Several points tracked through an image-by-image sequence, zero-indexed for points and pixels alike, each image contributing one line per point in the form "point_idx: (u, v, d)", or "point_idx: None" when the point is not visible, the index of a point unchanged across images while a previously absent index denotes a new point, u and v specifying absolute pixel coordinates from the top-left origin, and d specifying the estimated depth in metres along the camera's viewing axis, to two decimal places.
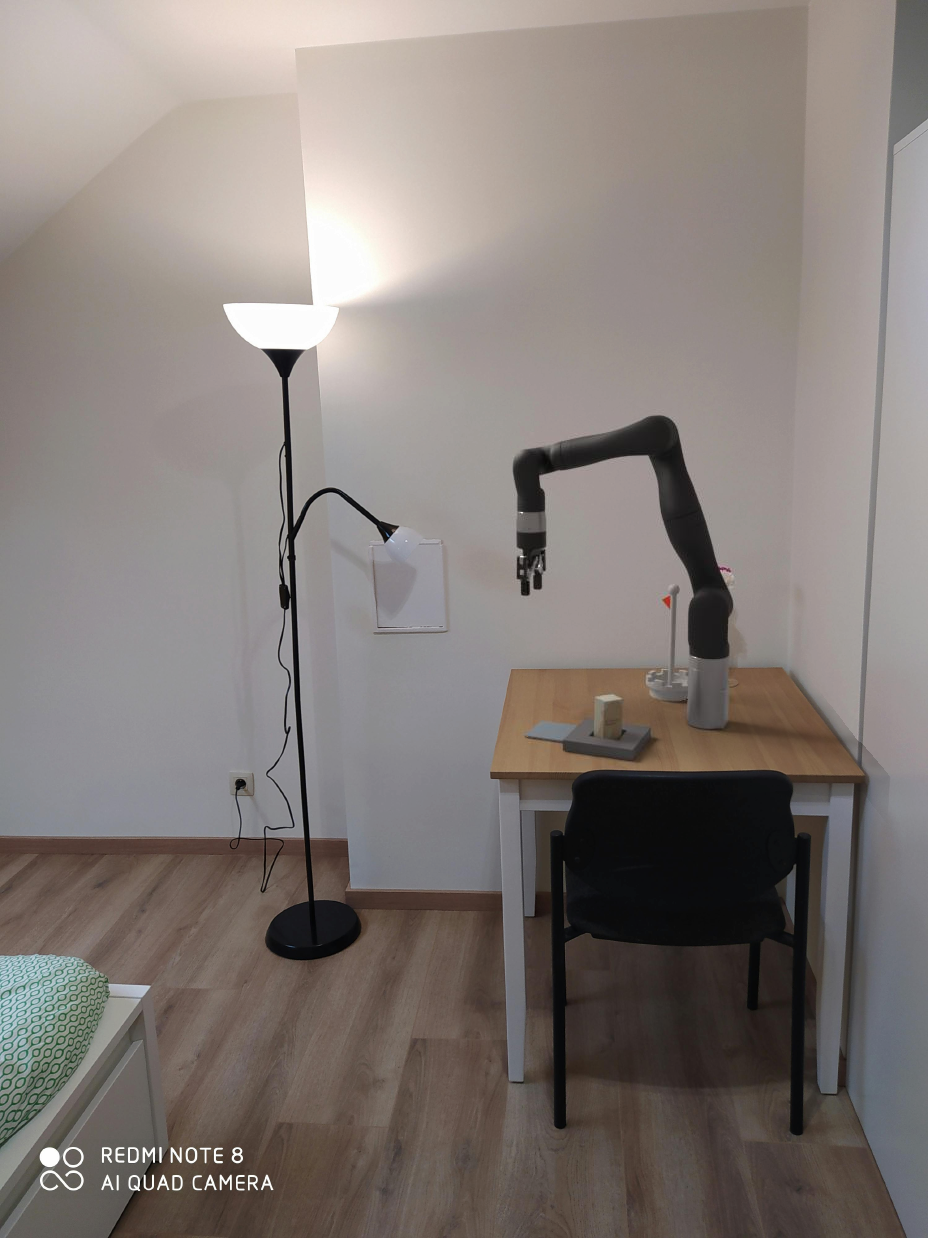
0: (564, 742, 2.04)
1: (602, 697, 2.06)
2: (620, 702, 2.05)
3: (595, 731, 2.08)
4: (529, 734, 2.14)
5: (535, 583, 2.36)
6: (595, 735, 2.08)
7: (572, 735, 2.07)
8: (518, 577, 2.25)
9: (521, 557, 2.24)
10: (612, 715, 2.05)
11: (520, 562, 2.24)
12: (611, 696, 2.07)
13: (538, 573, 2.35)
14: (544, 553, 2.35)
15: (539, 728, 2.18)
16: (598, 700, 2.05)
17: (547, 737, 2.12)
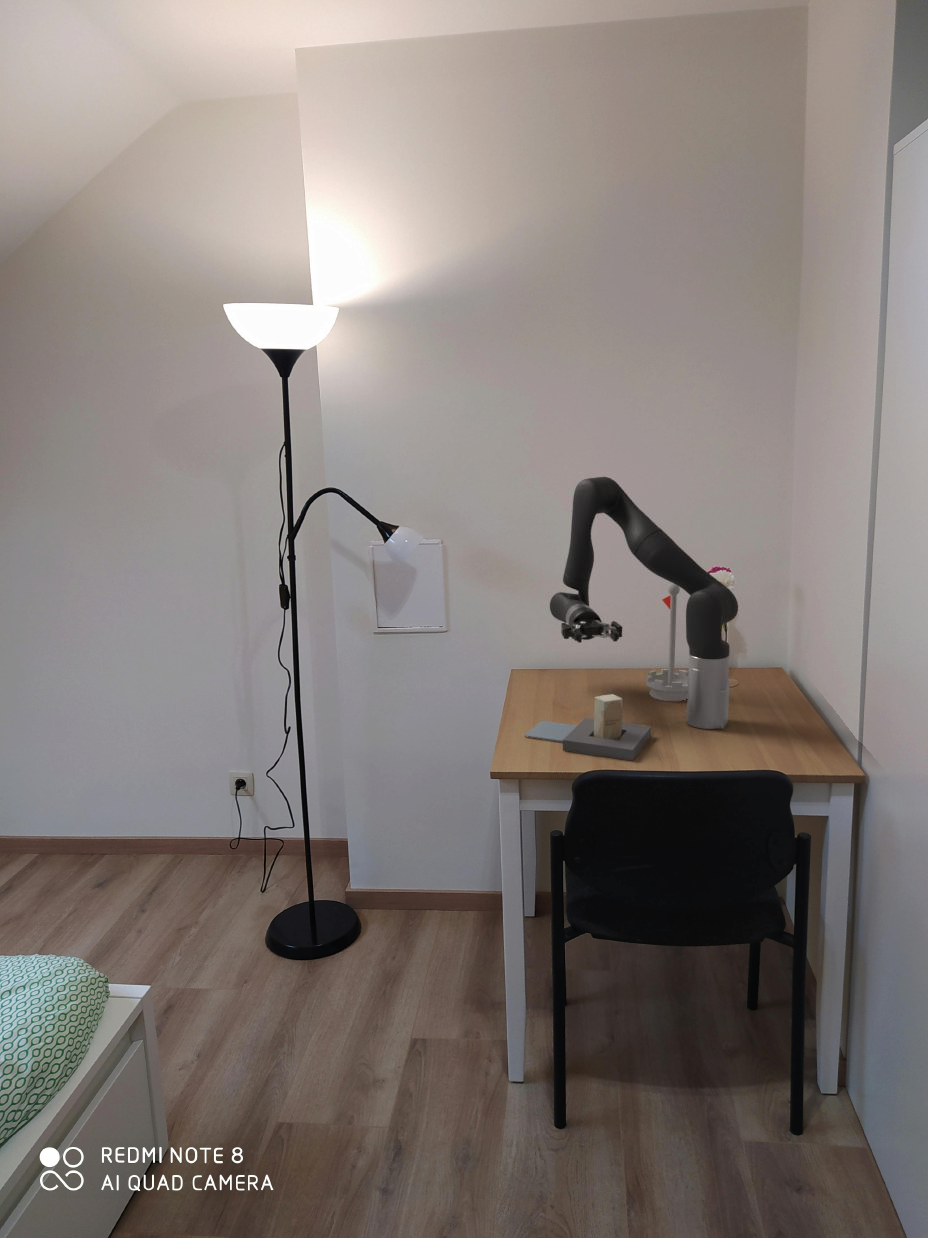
0: (564, 742, 2.04)
1: (602, 697, 2.06)
2: (620, 702, 2.05)
3: (595, 731, 2.08)
4: (529, 734, 2.14)
5: (612, 637, 2.16)
6: (595, 735, 2.08)
7: (572, 735, 2.07)
8: (564, 636, 2.19)
9: None
10: (612, 715, 2.05)
11: (562, 630, 2.22)
12: (611, 696, 2.07)
13: None
14: (614, 622, 2.23)
15: (539, 728, 2.18)
16: (598, 700, 2.05)
17: (547, 737, 2.12)
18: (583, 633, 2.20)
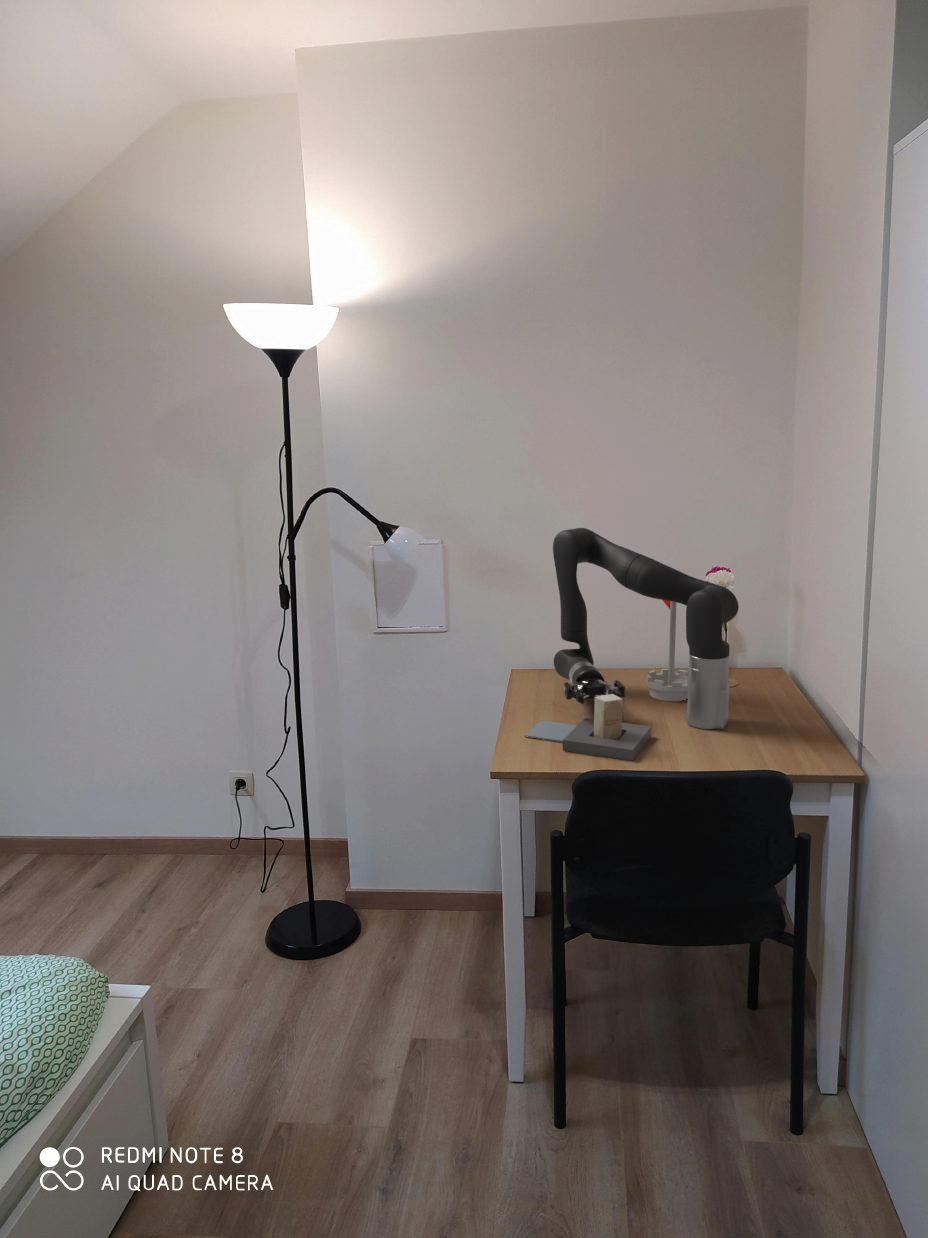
0: (564, 742, 2.04)
1: (602, 697, 2.06)
2: (620, 702, 2.05)
3: (595, 731, 2.08)
4: (529, 734, 2.14)
5: None
6: (595, 735, 2.08)
7: (572, 735, 2.07)
8: (566, 696, 2.19)
9: None
10: (612, 715, 2.05)
11: (564, 690, 2.22)
12: (611, 696, 2.07)
13: None
14: (617, 682, 2.23)
15: (539, 728, 2.18)
16: (598, 700, 2.05)
17: (547, 737, 2.12)
18: (586, 693, 2.21)
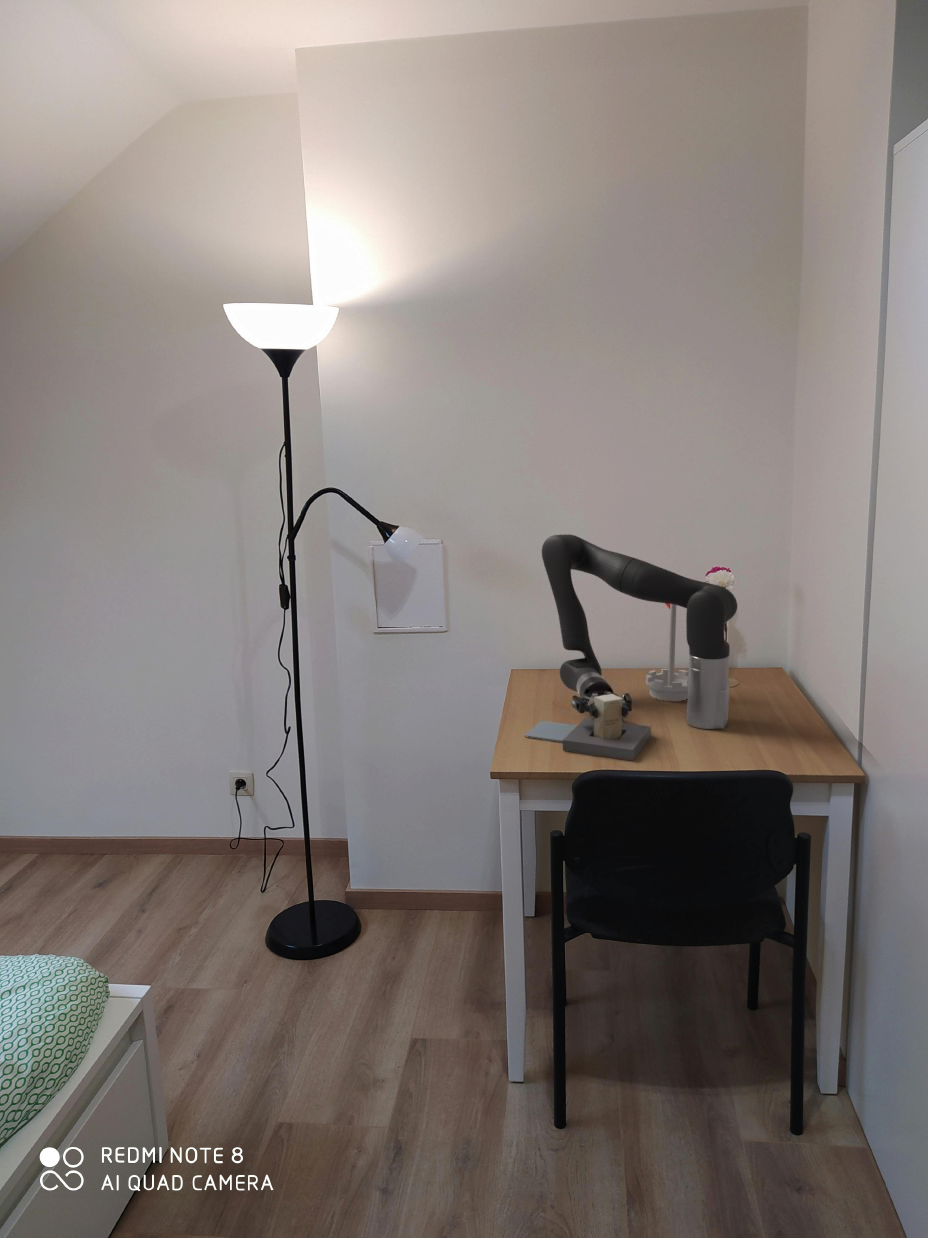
0: (564, 742, 2.04)
1: (602, 697, 2.06)
2: (620, 701, 2.05)
3: (595, 731, 2.08)
4: (529, 734, 2.14)
5: None
6: (595, 735, 2.08)
7: (572, 735, 2.07)
8: (579, 710, 2.09)
9: (572, 701, 2.13)
10: (611, 715, 2.05)
11: (574, 703, 2.12)
12: (610, 696, 2.07)
13: None
14: (626, 695, 2.13)
15: (539, 728, 2.18)
16: (598, 700, 2.05)
17: (547, 737, 2.12)
18: None
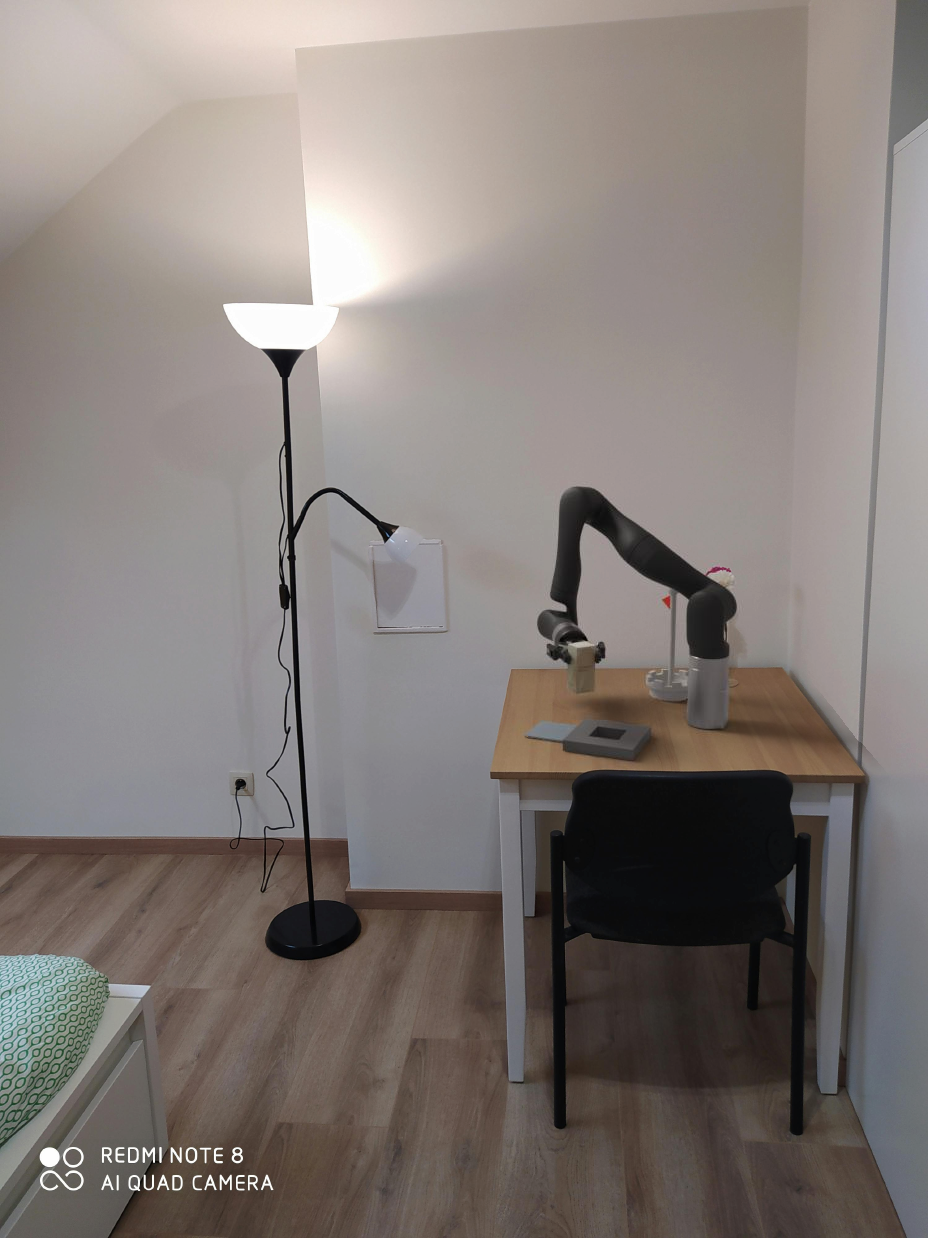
0: (564, 742, 2.04)
1: (575, 644, 2.07)
2: (593, 648, 2.06)
3: (568, 678, 2.09)
4: (529, 734, 2.14)
5: None
6: (569, 682, 2.09)
7: (572, 735, 2.07)
8: (553, 657, 2.10)
9: None
10: (585, 661, 2.06)
11: (548, 651, 2.13)
12: (584, 643, 2.08)
13: None
14: (601, 643, 2.14)
15: (539, 728, 2.18)
16: (571, 647, 2.06)
17: (547, 737, 2.12)
18: None
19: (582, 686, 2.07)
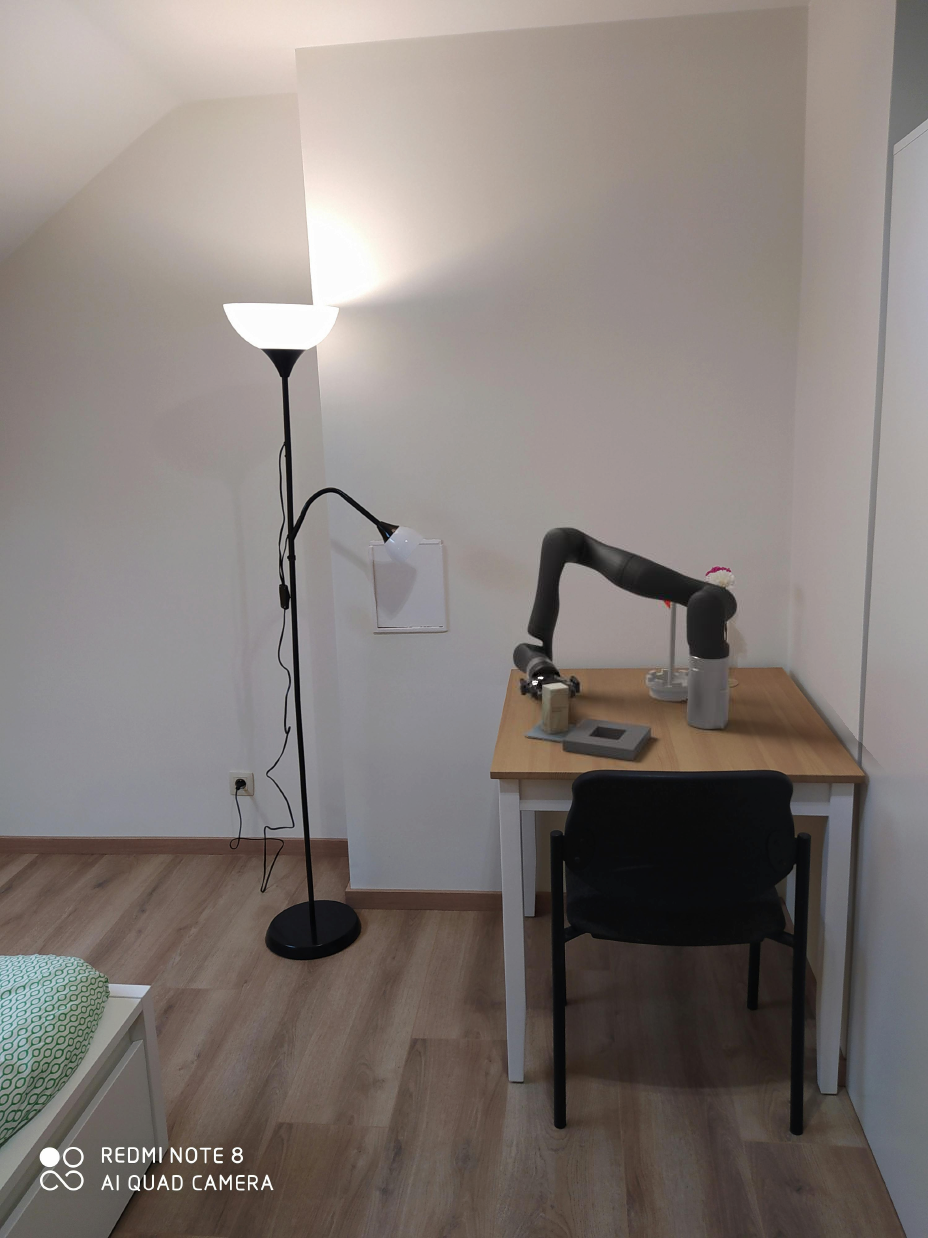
0: (564, 742, 2.04)
1: (549, 685, 2.14)
2: (566, 690, 2.13)
3: (543, 718, 2.16)
4: (529, 734, 2.14)
5: (569, 694, 2.14)
6: (543, 722, 2.16)
7: (572, 735, 2.07)
8: (521, 692, 2.16)
9: None
10: (558, 702, 2.12)
11: None
12: (558, 684, 2.14)
13: None
14: (572, 677, 2.21)
15: (539, 728, 2.18)
16: (545, 688, 2.13)
17: (547, 737, 2.12)
18: (541, 689, 2.18)
19: (555, 727, 2.13)
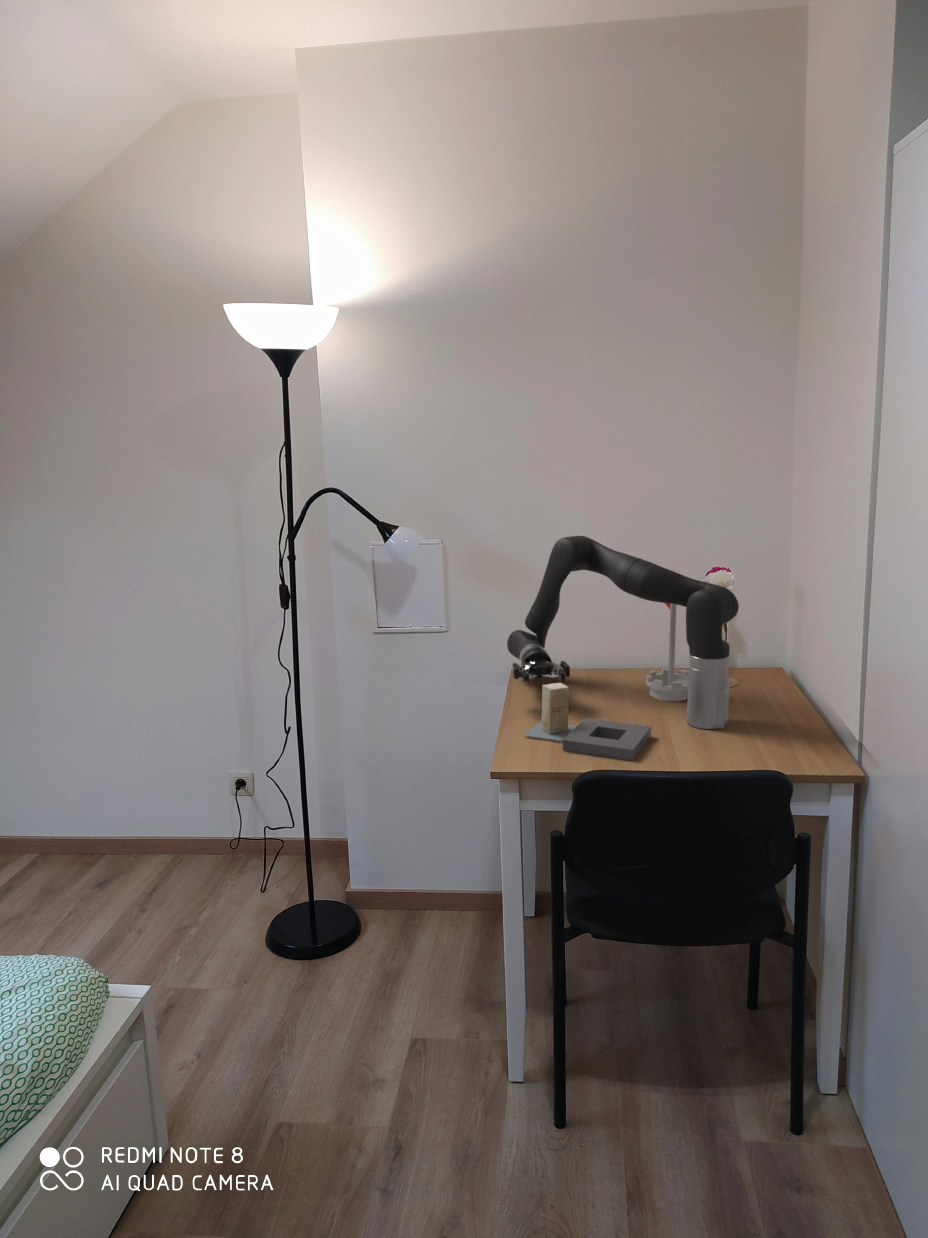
0: (564, 742, 2.04)
1: (549, 685, 2.14)
2: (567, 690, 2.13)
3: (543, 718, 2.16)
4: (529, 734, 2.14)
5: (559, 677, 2.26)
6: (543, 722, 2.16)
7: (572, 735, 2.07)
8: (514, 676, 2.29)
9: None
10: (558, 702, 2.12)
11: None
12: (558, 684, 2.14)
13: (558, 671, 2.29)
14: (563, 662, 2.34)
15: (539, 728, 2.18)
16: (545, 688, 2.13)
17: (547, 737, 2.12)
18: (533, 673, 2.31)
19: (555, 727, 2.13)
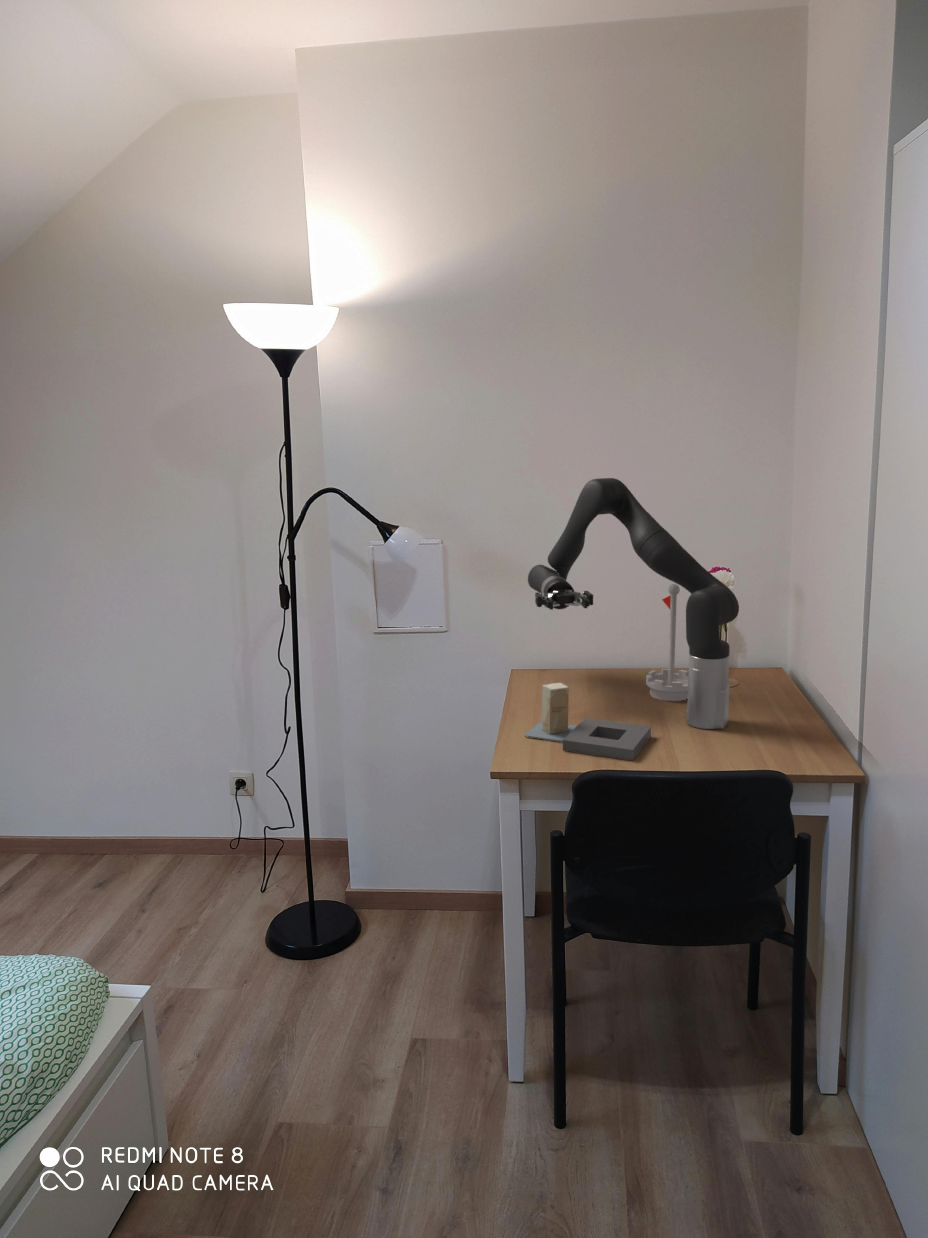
0: (564, 742, 2.04)
1: (549, 685, 2.14)
2: (566, 690, 2.13)
3: (543, 718, 2.16)
4: (529, 734, 2.14)
5: (583, 604, 2.25)
6: (543, 722, 2.16)
7: (572, 735, 2.07)
8: (537, 604, 2.27)
9: None
10: (558, 702, 2.12)
11: (535, 599, 2.31)
12: (558, 684, 2.14)
13: None
14: (586, 592, 2.32)
15: (539, 728, 2.18)
16: (545, 688, 2.13)
17: (547, 737, 2.12)
18: (556, 601, 2.29)
19: (555, 727, 2.13)
